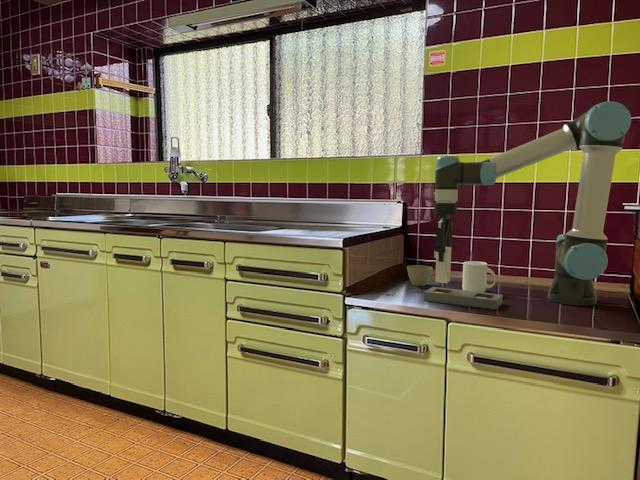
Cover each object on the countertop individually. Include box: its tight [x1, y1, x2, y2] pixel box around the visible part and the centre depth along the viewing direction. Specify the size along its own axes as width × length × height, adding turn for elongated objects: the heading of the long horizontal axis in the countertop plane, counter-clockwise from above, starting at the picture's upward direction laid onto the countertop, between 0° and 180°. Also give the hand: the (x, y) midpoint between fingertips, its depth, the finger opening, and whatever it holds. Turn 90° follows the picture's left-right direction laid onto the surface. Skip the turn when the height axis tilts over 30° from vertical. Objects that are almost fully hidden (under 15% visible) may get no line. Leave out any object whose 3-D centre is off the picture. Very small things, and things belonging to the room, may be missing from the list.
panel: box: [423, 286, 504, 310], centre depth 166 cm, size 24×10×3 cm, turn 60°
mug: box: [461, 260, 497, 293], centre depth 182 cm, size 9×12×11 cm
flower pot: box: [406, 265, 434, 287], centre depth 194 cm, size 10×10×7 cm
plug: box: [433, 247, 452, 284], centre depth 168 cm, size 5×4×12 cm
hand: (443, 269), depth 168 cm, fingers closed on plug, 4 cm apart
